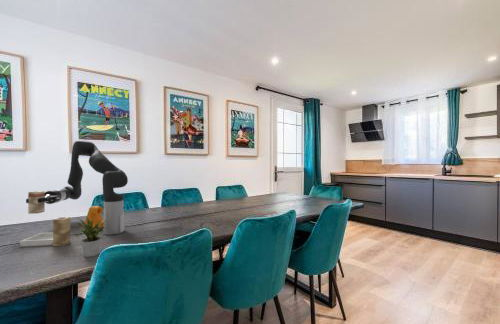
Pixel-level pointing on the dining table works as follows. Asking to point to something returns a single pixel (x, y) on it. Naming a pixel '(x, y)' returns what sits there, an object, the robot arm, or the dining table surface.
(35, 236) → the tray
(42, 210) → the maple post
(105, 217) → the robot arm
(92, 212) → the bracket
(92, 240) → the house plant
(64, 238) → the oak post
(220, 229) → the dining table surface
